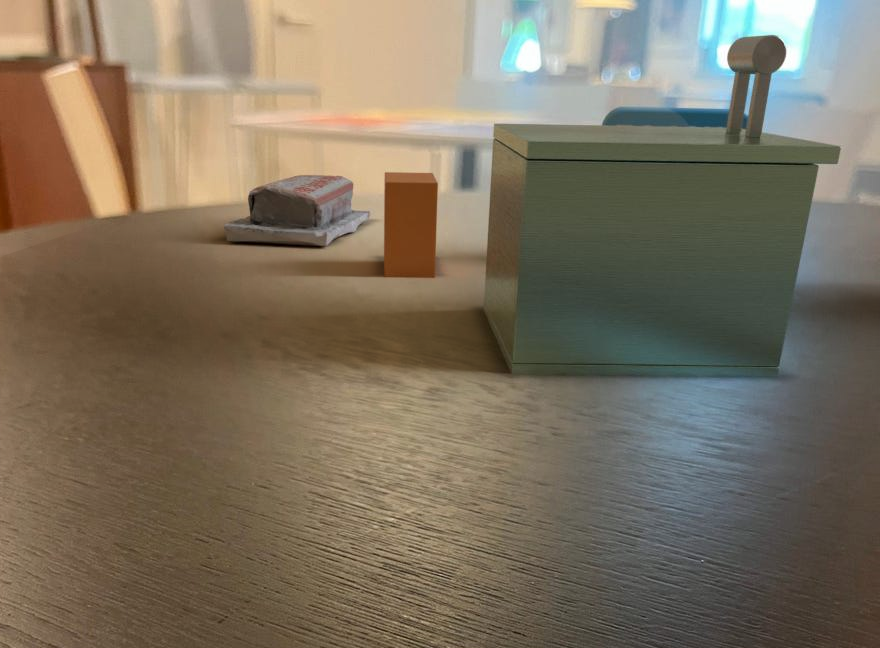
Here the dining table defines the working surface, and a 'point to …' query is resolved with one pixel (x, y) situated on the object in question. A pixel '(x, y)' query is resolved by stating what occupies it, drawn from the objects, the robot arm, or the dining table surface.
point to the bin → (643, 264)
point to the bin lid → (684, 141)
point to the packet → (410, 225)
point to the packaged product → (298, 212)
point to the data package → (669, 117)
